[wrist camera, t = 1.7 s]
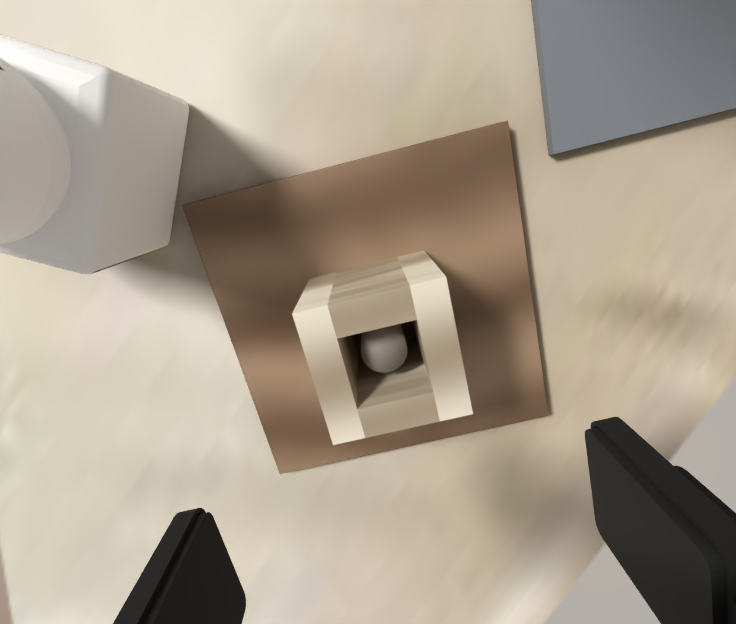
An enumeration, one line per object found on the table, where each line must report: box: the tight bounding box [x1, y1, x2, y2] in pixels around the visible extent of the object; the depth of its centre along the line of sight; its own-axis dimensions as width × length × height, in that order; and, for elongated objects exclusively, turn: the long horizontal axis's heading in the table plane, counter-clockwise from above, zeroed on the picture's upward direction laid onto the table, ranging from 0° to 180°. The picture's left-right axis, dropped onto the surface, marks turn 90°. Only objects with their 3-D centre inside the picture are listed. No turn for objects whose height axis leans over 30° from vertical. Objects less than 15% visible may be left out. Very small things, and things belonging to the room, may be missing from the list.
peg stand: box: [182, 121, 548, 474], centre depth 21 cm, size 16×16×5 cm
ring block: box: [292, 251, 473, 445], centre depth 20 cm, size 6×6×6 cm
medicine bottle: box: [0, 35, 189, 274], centre depth 16 cm, size 7×7×12 cm
